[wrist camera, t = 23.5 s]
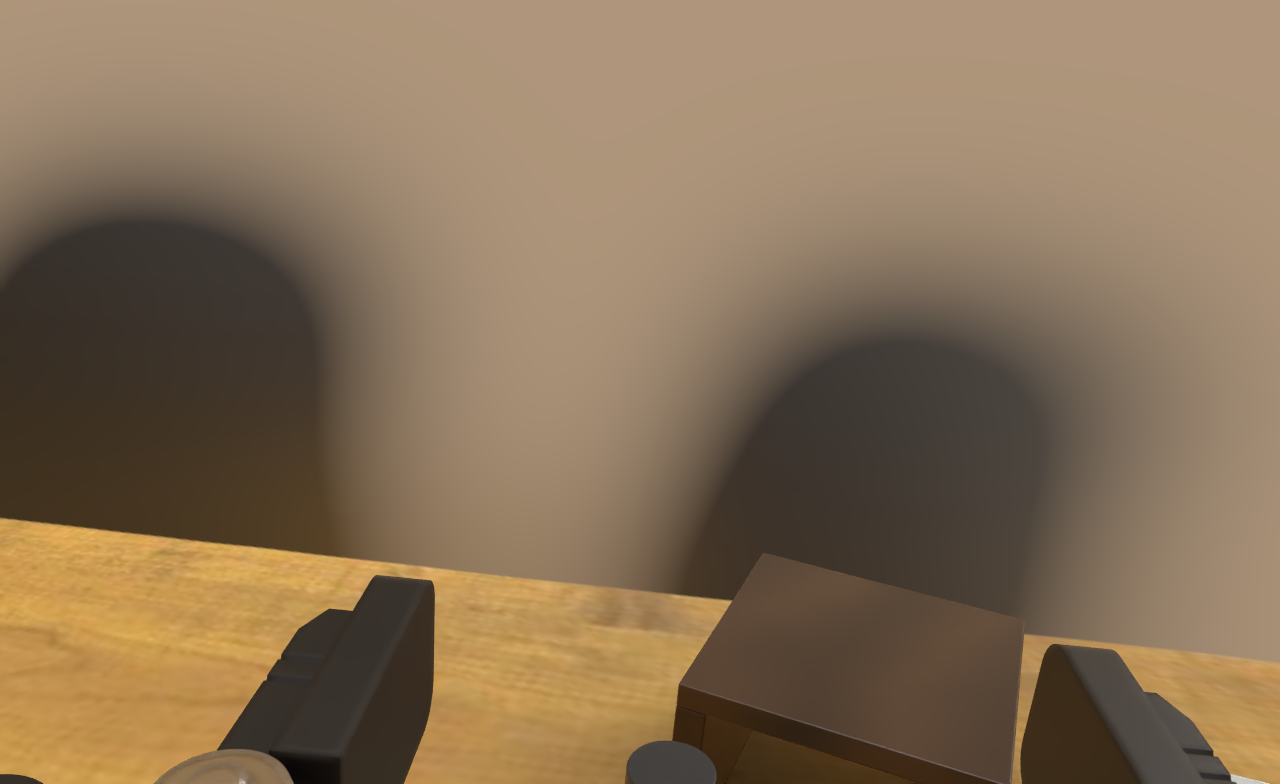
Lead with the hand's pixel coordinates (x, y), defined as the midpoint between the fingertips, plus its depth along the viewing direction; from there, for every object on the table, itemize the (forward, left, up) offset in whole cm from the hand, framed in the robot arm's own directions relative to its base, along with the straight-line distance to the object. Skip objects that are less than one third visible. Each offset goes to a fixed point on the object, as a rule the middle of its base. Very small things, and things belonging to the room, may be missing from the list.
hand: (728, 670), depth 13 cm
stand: (0, -26, -23) cm, 35 cm away
